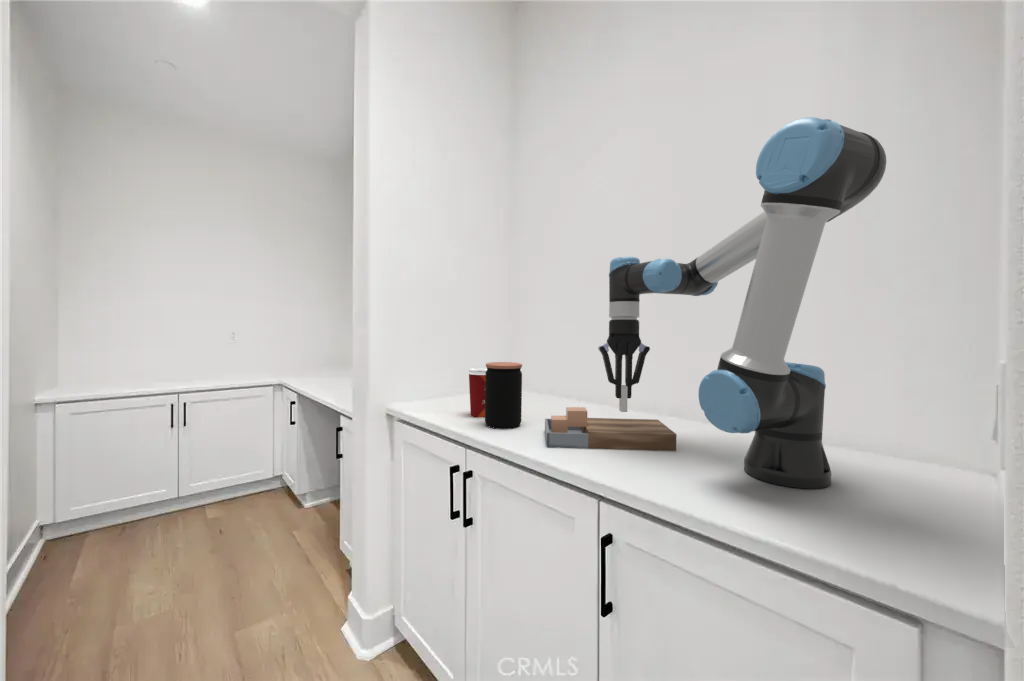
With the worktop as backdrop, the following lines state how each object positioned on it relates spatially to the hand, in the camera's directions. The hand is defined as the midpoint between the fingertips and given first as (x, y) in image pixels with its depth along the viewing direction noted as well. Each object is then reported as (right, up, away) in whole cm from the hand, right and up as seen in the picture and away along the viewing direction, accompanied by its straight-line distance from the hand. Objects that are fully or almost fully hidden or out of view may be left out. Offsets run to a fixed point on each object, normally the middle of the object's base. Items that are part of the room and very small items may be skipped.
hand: (623, 410), depth 117 cm
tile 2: (-12, -4, +1) cm, 12 cm away
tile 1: (-14, -4, +1) cm, 15 cm away
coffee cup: (-39, -6, +29) cm, 49 cm away
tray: (-15, -8, +2) cm, 17 cm away
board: (+1, -8, +1) cm, 8 cm away
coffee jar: (-31, -7, +16) cm, 36 cm away
